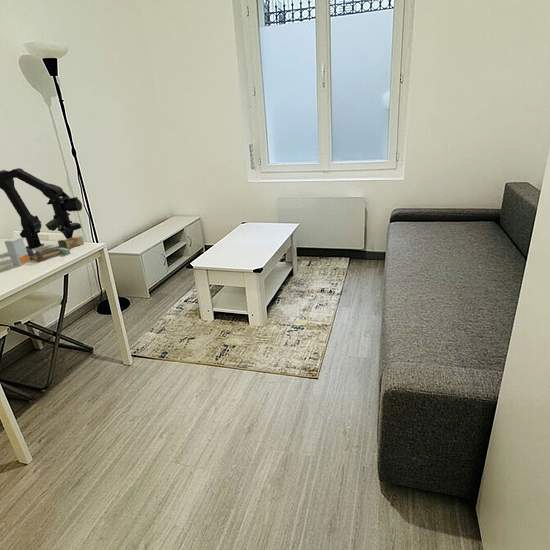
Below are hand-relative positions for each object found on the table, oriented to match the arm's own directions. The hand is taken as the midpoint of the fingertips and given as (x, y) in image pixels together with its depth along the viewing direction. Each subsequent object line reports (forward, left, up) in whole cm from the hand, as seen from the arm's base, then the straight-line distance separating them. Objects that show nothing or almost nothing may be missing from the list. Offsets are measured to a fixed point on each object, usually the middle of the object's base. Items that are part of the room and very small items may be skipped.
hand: (69, 241), depth 200 cm
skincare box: (+4, -27, -2) cm, 27 cm away
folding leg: (+5, -3, -1) cm, 6 cm away
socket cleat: (+11, -10, -1) cm, 15 cm away
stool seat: (+5, -16, -1) cm, 17 cm away
